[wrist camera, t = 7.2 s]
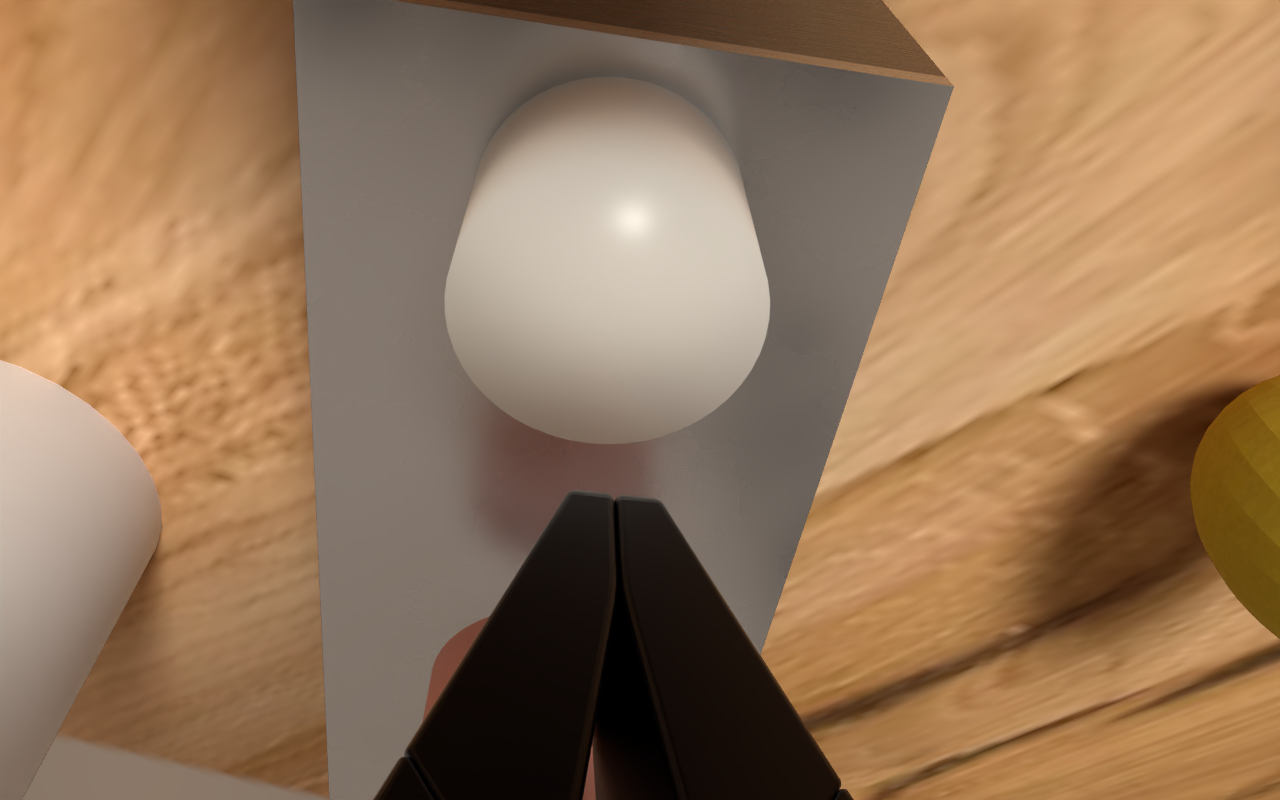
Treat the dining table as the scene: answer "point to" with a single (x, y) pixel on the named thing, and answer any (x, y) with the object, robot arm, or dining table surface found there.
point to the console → (455, 407)
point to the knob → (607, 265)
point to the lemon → (1243, 499)
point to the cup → (60, 557)
